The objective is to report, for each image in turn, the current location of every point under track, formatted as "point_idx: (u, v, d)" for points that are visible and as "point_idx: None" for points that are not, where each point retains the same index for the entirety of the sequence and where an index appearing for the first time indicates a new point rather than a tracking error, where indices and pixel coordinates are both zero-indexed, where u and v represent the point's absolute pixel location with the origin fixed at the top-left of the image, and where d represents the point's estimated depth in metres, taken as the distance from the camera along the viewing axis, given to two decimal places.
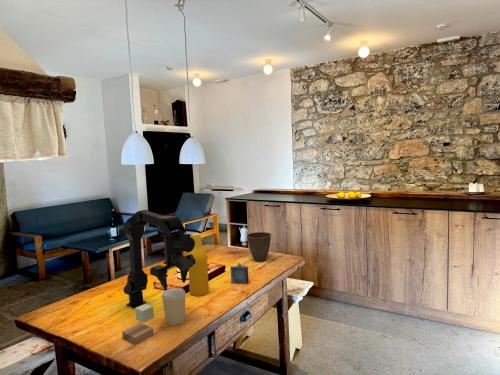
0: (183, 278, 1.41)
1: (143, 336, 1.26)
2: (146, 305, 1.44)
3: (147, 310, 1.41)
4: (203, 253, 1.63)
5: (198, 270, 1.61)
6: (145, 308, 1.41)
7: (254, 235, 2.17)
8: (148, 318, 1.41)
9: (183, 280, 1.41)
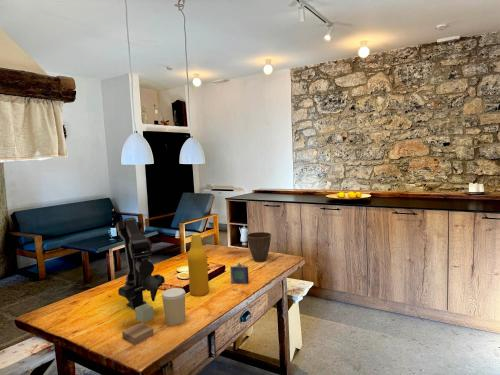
0: (152, 297, 1.46)
1: (143, 336, 1.26)
2: (146, 305, 1.44)
3: (147, 310, 1.41)
4: (203, 253, 1.63)
5: (198, 270, 1.61)
6: (145, 308, 1.41)
7: (254, 235, 2.17)
8: (148, 318, 1.41)
9: (152, 299, 1.46)
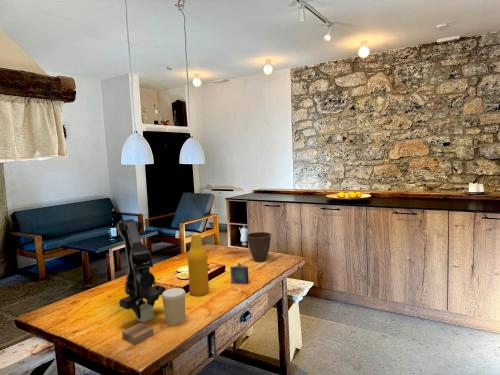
0: None
1: (143, 336, 1.26)
2: (146, 305, 1.44)
3: (147, 310, 1.41)
4: (203, 253, 1.63)
5: (198, 270, 1.61)
6: (145, 308, 1.41)
7: (254, 235, 2.17)
8: (148, 318, 1.41)
9: None
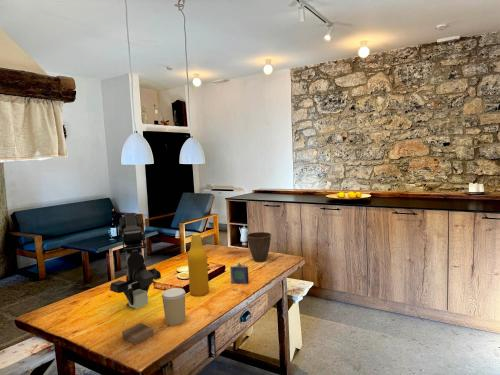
0: None
1: (143, 336, 1.26)
2: (139, 290, 1.32)
3: (140, 295, 1.29)
4: (203, 253, 1.63)
5: (198, 270, 1.61)
6: (139, 293, 1.29)
7: (254, 235, 2.17)
8: (142, 304, 1.29)
9: None
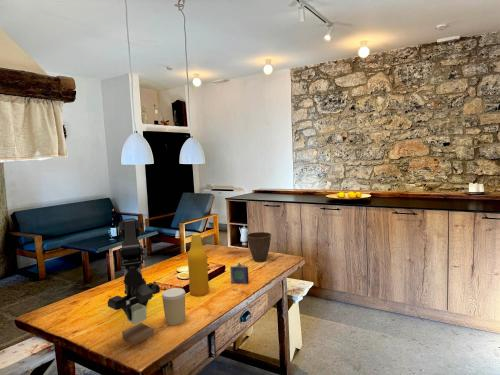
0: None
1: (143, 336, 1.26)
2: (138, 305, 1.29)
3: (139, 311, 1.26)
4: (203, 253, 1.63)
5: (198, 270, 1.61)
6: (137, 308, 1.27)
7: (254, 235, 2.17)
8: (140, 319, 1.27)
9: None
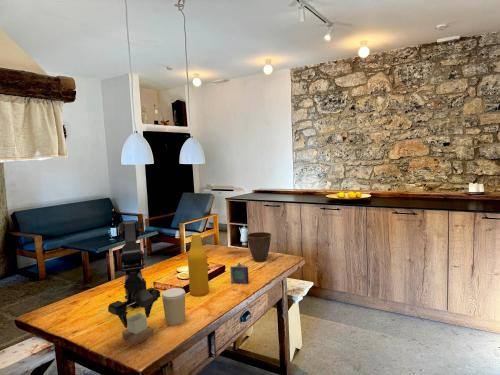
0: (146, 313, 1.32)
1: (143, 336, 1.26)
2: (138, 315, 1.30)
3: (140, 321, 1.27)
4: (203, 253, 1.63)
5: (198, 270, 1.61)
6: (138, 318, 1.27)
7: (254, 235, 2.17)
8: (141, 329, 1.27)
9: (147, 315, 1.32)
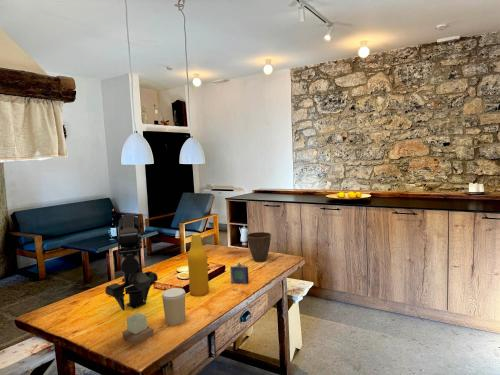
0: (143, 296, 1.32)
1: (143, 336, 1.26)
2: (138, 315, 1.30)
3: (139, 320, 1.27)
4: (203, 253, 1.63)
5: (198, 270, 1.61)
6: (138, 318, 1.27)
7: (254, 235, 2.17)
8: (141, 329, 1.27)
9: (144, 298, 1.32)
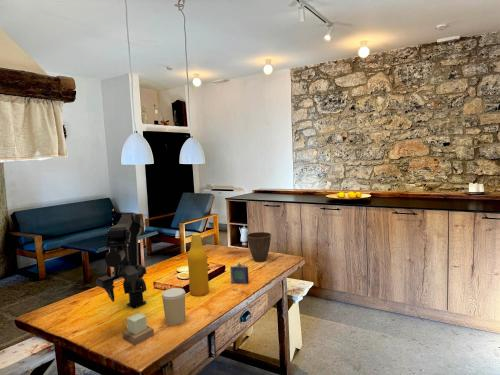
0: (133, 289, 1.39)
1: (143, 336, 1.26)
2: (138, 315, 1.30)
3: (139, 321, 1.27)
4: (203, 253, 1.63)
5: (198, 270, 1.61)
6: (137, 318, 1.27)
7: (254, 235, 2.17)
8: (141, 329, 1.27)
9: (133, 290, 1.39)
